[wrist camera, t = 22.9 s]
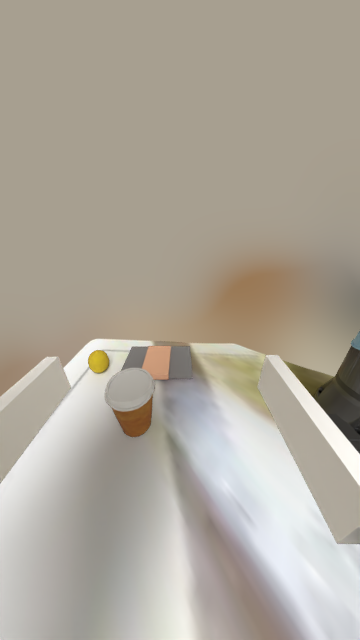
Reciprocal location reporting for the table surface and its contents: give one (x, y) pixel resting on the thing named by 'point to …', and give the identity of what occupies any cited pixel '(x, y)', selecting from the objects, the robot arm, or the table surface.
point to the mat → (178, 361)
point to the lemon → (98, 361)
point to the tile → (158, 362)
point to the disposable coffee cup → (131, 399)
